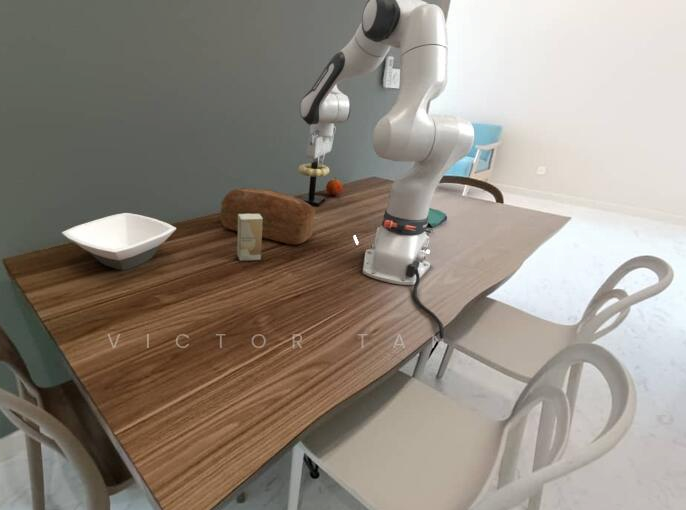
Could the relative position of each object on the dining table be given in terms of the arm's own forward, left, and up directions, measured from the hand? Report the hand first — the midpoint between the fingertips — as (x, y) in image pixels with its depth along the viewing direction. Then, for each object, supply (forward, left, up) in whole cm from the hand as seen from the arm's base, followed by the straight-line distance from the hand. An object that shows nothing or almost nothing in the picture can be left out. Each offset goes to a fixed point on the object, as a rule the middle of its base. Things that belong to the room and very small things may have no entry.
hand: (318, 166), depth 157 cm
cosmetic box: (-65, -4, -13) cm, 66 cm away
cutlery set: (-6, -42, -13) cm, 44 cm away
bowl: (-83, +24, -13) cm, 87 cm away
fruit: (+9, -5, -13) cm, 17 cm away
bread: (-46, 0, -13) cm, 48 cm away
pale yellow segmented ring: (-5, 0, 0) cm, 5 cm away
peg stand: (-5, 0, -13) cm, 14 cm away
